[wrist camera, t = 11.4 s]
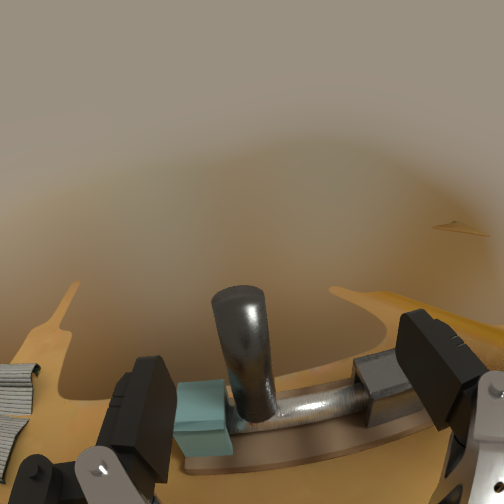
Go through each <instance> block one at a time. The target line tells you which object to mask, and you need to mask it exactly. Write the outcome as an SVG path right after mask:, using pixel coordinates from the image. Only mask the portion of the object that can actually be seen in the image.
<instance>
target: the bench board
mask: <svg viewBox="0 0 504 504" xmlns="http://www.w3.org/2000/svg"><path fill="white" fill-rule="evenodd" d="M350 384H351V378H348V379H344V380H339V381H335V382H330V383H326V384H321V385H316V386H311V387H305V388H300V389H294V390H288V391H282V392H276V400H277V399H283V398H289V397H295V396H301V395H306V394H311V393H316V392H321V391H326V390H331V389H335V388H340V387H344V386H348V385H350ZM229 400H230V404H231V405H235V401H234V398H229ZM366 412H367V410H363V411H359V412H356V413H352V414H348V415H344V416H340V417H336V418H331V419H327V420H322V421H317V422H312V423H307V424H302V425H297V426H291V427H285V428H278V429H271V430H264V431H256V432H247V433H238V434H229V437H230V440H231V442H232V445H233V455H224V456H205V457H185V466H184V469H185V471H186V472H187V474H188V475H216V474H234V473H246V472H256V471H265V470H273V469H280V468H286V467H293V466H298V465H304V464H309V463H314V462H319V461H323V460H328V459H332V458H336V457H340V456H344V455H348V454H352V453H356V452H359V451H363V450H366V449H369V448H373V447H376V446H379V445H382V444H385V443H388V442H391V441H394V440H397V439H400V438H402V437H405V436H408V435H410V434H413V433H415V432H418V431H420V430H423V429H425V428H428V427H430V426H432V425H433V424H434V423H433V421H432V419H431V418H430V416H429V414H428V412H427V411H426V409H425V407H424V409H423V410H421V411H419V412H416V413H413V414H411V415H408V416H405V417H402V418H399V419H397V420H394V421H391V422H388V423H385V424H381V425H378V426H375V427H372V428H368V429H367V428H366V425H365V423H364V421H365V416H366Z"/></svg>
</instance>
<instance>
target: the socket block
mask: <svg viewBox="0 0 504 504" xmlns="http://www.w3.org/2000/svg"><path fill="white" fill-rule="evenodd" d="M228 405H231V404H230V400H229V397H228V393H227V389H226V386H225V382H224V379H220V380H209V381H197V382H182V383H178V388H177V409H176V416H175V423H174V431H173V437H174V438H175V440H176V442H177V444H178V445H179V447H180V449H181V451H182V452H183V454H184V456H185V457H205V456H224V455H233V445H232V442H231V440H230V437H229V434H228V431H227V428H226V425H225V406H228Z"/></svg>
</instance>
